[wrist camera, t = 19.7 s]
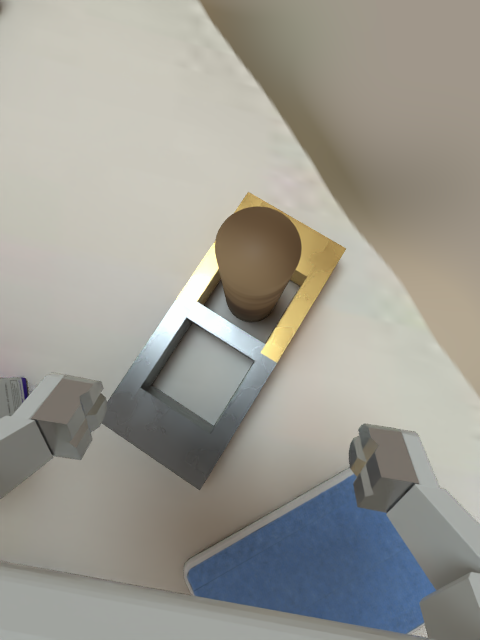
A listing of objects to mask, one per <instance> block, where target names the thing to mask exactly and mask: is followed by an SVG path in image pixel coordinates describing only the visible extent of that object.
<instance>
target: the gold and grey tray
mask: <svg viewBox="0 0 480 640" xmlns="http://www.w3.org/2000/svg"><path fill="white" fill-rule="evenodd" d="M256 206H260V207H268V208H271V209H274V210H277V211H279V212H281V213H282V214H284V215H285V216H286V217H288V218H289V219H290V220H291V222H292V223H293V224H294V225H295V227H296V229H297V231H298V233H299V235H300V239H301V245H302V251H301V258H300V261H299V264H298V266H297V268H296V270H295V271H294V273H293V275H292V277H291V278H290V280H291V281H293V282H294V283H296V284H298V285H299V286H300V288H299V289H298V291H297V292H296V294H295V296H294V297H293V299H292V301H291V302H290V304H289V305H288V307H287V309H286V310H285V312H284V314H283V315H282V317H281V318H280V320H279V322H278V323H277V325H276V327H275V328H274V330H273V331H272V333H271V335H270V336H269V338H268V339H267V341H266V343H265V344H264V343H262V342H261V341H259V340H258V339H256V338H254V337H253V336H251V335H250V334H248V333H246V332H245V331H243V330H241V329H240V328H238V327H237V326H235V325H233V324H232V323H230V322H229V321H227V320H225V319H224V318H222V317H221V316H219V315H217V314H216V313H214V312H213V311H211V310H209V309H208V308H206V307H205V306H203V305H204V304H205V302H206V301H207V299H208V298H209V296H210V295H211V293H212V292H213V290H214V289H215V287H216V286H217V284H218V283H219V281H220V280H221V276H220V272H219V268H218V264H217V260H216V255H215V242H214V244H213V245H212V247H211V248H210V250H209V251H208V253H207V254H206V256H205V257H204V259H203V260H202V262H201V263H200V265H199V266H198V268H197V269H196V271H195V272H194V274H193V275H192V277H191V278H190V280H189V281H188V283H187V284H186V286H185V287H184V289H183V290H182V292H181V293H180V294H179V296H178V297H177V299H176V300H175V302H174V303H173V305H172V306H171V308H170V309H169V311H168V312H167V314H166V315H165V317H164V318H163V320H162V321H161V323H160V324H159V326H158V327H157V329H156V330H155V332H154V333H153V335H152V336H151V338H150V339H149V341H148V342H147V344H146V345H145V347H144V348H143V350H142V351H141V353H140V354H139V356H138V357H137V359H136V360H135V362H134V363H133V365H132V366H131V368H130V369H129V371H128V372H127V374H126V375H125V376H124V378H123V379H122V381H121V382H120V384H119V385H118V387H117V388H116V390H115V391H114V393H113V394H112V396H111V397H110V399H109V400H108V402H107V410H106V413H105V417H104V419H103V421H102V424H104V425H105V426H107V427H108V428H109V429H111V430H112V431H114V432H115V433H117V434H118V435H120V436H121V437H123V438H124V439H126V440H127V441H128V442H130V443H131V444H133V445H134V446H136V447H137V448H139V449H140V450H142V451H143V452H145V453H146V454H147V455H149V456H150V457H152V458H153V459H155V460H156V461H158V462H159V463H161V464H162V465H164V466H165V467H166V468H168V469H169V470H171V471H172V472H174V473H175V474H177V475H178V476H180V477H181V478H183V479H184V480H185V481H187V482H188V483H190V484H191V485H193V486H194V487H196V488H197V489H199V490H200V489H201V488H202V486H203V484H204V483H205V481H206V479H207V478H208V476H209V474H210V473H211V471H212V469H213V468H214V466H215V464H216V463H217V461H218V459H219V458H220V456H221V455H222V453H223V451H224V450H225V448H226V446H227V445H228V443H229V441H230V440H231V438H232V436H233V435H234V433H235V431H236V430H237V428H238V426H239V425H240V423H241V422H242V420H243V418H244V417H245V415H246V413H247V412H248V410H249V408H250V407H251V405H252V403H253V402H254V400H255V398H256V397H257V395H258V393H259V392H260V390H261V389H262V387H263V385H264V384H265V382H266V380H267V379H268V377H269V375H270V374H271V372H272V370H273V369H274V367H275V365H276V364H277V362H278V360H279V359H280V357H281V356H282V354H283V352H284V351H285V349H286V347H287V346H288V344H289V342H290V341H291V339H292V337H293V336H294V334H295V332H296V331H297V329H298V327H299V326H300V324H301V323H302V321H303V319H304V318H305V316H306V314H307V313H308V311H309V309H310V308H311V306H312V304H313V303H314V301H315V299H316V298H317V296H318V294H319V293H320V291H321V289H322V288H323V286H324V285H325V283H326V281H327V280H328V278H329V276H330V275H331V273H332V271H333V270H334V268H335V266H336V265H337V263H338V261H339V260H340V258H341V256H342V255H343V253H344V252H345V250H346V248H344V247H342V246H341V245H339V244H337V243H336V242H334V241H332V240H330V239H329V238H327V237H325V236H323V235H322V234H320V233H318V232H317V231H315V230H313V229H311V228H310V227H308V226H306V225H304V224H303V223H301V222H299V221H298V220H296V219H294V218H292V217H291V216H289V215H287V214H285V213H284V212H282V211H280V210H279V209H277V208H275V207H273V206H272V205H270V204H268V203H266V202H265V201H263V200H261V199H260V198H258V197H256V196H254V195H253V194H251V193H249V192H248V193H247V195H246V196H245V198H244V199H243V201H242V202H241V204H240V205H239V207H238V208H237V209H236V211H235V212H237V211H239V210H242V209H244V208H248V207H256ZM235 212H234V213H235ZM192 322H193V323H194V324H196V325H198V326H199V327H201V328H202V329H204V330H205V331H207V332H209V333H210V334H212V335H213V336H215V337H217V338H218V339H220V340H221V341H223V342H224V343H226V344H228V345H229V346H231V347H232V348H234V349H236V350H237V351H239V352H240V353H242V354H243V355H245V356H247V357H248V358H250V359H251V360H253V361H254V362H253V364H252V365H251V367H250V369H249V370H248V372H247V374H246V375H245V377H244V378H243V380H242V382H241V383H240V385H239V387H238V388H237V390H236V391H235V393H234V395H233V396H232V398H231V399H230V401H229V403H228V404H227V406H226V408H225V409H224V411H223V412H222V414H221V416H220V417H219V419H218V421H217V422H216V424H215V425H214V426H213V425H211V424H210V423H208V422H207V421H205V420H204V419H202V418H201V417H199V416H198V415H196V414H195V413H193V412H192V411H190V410H189V409H187V408H186V407H184V406H183V405H181V404H180V403H178V402H177V401H175V400H174V399H172V398H171V397H169V396H167V395H166V394H164V393H163V392H161V391H160V390H158V389H157V388H155V387H154V386H152V383H153V382H154V380H155V379H156V377H157V376H158V374H159V372H160V371H161V369H162V368H163V366H164V365H165V363H166V362H167V360H168V359H169V357H170V356H171V354H172V353H173V351H174V350H175V348H176V347H177V345H178V344H179V342H180V340H181V339H182V337H183V336H184V334H185V333H186V331H187V330H188V328H189V327H190V325H191V324H192Z"/></svg>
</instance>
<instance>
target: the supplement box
mask: <svg viewBox="0 0 480 640" xmlns="http://www.w3.org/2000/svg"><path fill="white" fill-rule="evenodd" d="M27 397H28V391H27V384H26V379H25V378H23V377H21V378H0V419H1V418H3V417H4V416H6V415H7V416H12V415H13V414H14V413H15V411H16V410H17V409H18V408H19V407H20V405H21V404H22V403H23V402H24V401H25V400H26V398H27Z"/></svg>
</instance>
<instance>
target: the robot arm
mask: <svg viewBox="0 0 480 640" xmlns="http://www.w3.org/2000/svg"><path fill="white" fill-rule="evenodd" d="M102 390H103V385H102V382H101V381H97V380H91V379H86V378H81V377H75V376H70V375H64V374H58V373H53V372H52V373H50V374H48V375H46V376H45V377H44V379H43V380H42V381H41V382H40V383H39V384H38V386H37V387H36V388H35V389H34V390H33V391H32V393H31V394H30V395H29V396H28V397H27V398H26V400H25V401H24V402H23V403H22V404H21V405H20V407H19V408H18V409H17V410H16V411H15V413H14V414H13V415H12V416H7V415H6V416H4V417H3V418H1V419H0V499H1V498H3V497H4V496H5V495H6V494H8V493H9V492H10V491H11V490H13V489H14V488H15V487H17V486H18V485H19V484H20V483H22V482H23V481H24V480H25V479H27V478H28V477H29V476H31V475H32V474H33V473H34V472H36V471H37V470H38V469H40V468H41V467H42V466H43V465H45V464H46V463H47V462H48V461H50V460H51V459H52V458H53V456H56V457H63V458H70V459H77V460H81V459H82V457H83V456H84V454H85V452H86V450H87V448H88V447H89V445H90V443H91V441H92V435H91V432H93V431H94V430H96V429H97V428H99V427H100V425H101V423H102V421H103V419H104V417H105V413H106V410H107V401H106V397H104V396H103V395H102V394H101V392H102ZM358 431H359V436H358V437H355V438H353V440H352V442H351V444H350V449H349V464H350V469H351V470H352V472H353V473H354V474H355V475H356V477H357V478H356V479H355V481H354V483H353V486H354V492H355V497H356V502H357V507H359V508H364V509H370V510H375V511H380V512H385V513H387V514H386V515H387V517H388V518H389V520H390V521H391V523H392V524H393V526H394V527H395V529H396V530H397V532H398V533H399V535H400V536H401V538H402V539H403V541H404V542H405V544H406V545H407V547H408V548H409V550H410V551H411V553H412V554H413V556H414V557H415V559H416V561H417V562H418V564H419V565H420V567H421V568H422V570H423V571H424V573H425V574H426V576H427V577H428V579H429V580H430V582H431V583H432V585H433V586H434V588H435V589H436V591H435V592H433V593H431V594H429V595H427V596H425V597H423V598H422V600H421V601H420V603H419V604H420V608H421V612H422V616H423V619H424V623H425V627H426V631H427V635H428V638H425V637H420V636H414V635H409V634H403V633H398V632H392V631H387V630H381V629H376V628H370V627H364V626H359V625H353V624H348V623H342V622H337V621H331V620H326V619H320V618H315V617H309V616H304V615H298V614H292V613H287V612H281V611H276V610H270V609H265V608H259V607H254V606H248V605H243V604H237V603H231V602H226V601H220V600H215V599H209V598H204V597H198V596H193V595H187V594H182V593H176V592H171V591H165V590H159V589H154V588H148V587H143V586H137V585H132V584H126V583H121V582H115V581H110V580H104V579H98V578H93V577H87V576H82V575H76V574H71V573H65V572H60V571H54V570H49V569H43V568H38V567H32V566H26V565H21V564H15V563H10V562H4V561H0V640H480V524H479V523H478V522H477V521H476V520H475V519H474V518H473V517H472V516H471V515H470V514H469V513H468V512H467V511H466V510H465V509H464V508H463V507H462V506H461V505H460V503H459V502H458V501H457V500H456V499H455V498H454V497H453V496H452V495H451V494H450V493H449V492H448V491H447V490H446V489H443V488H440V486H439V484H438V481H437V479H436V477H435V474H434V472H433V469H432V467H431V464H430V462H429V459H428V457H427V454H426V452H425V450H424V447H423V445H422V442H421V440H420V437H419V435H418V434H417V433H416V432H414V431H408V430H401V429H396V428H391V427H384V426H378V425H371V424H363V425H361V427H360V428H359V430H358Z"/></svg>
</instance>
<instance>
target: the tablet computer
mask: <svg viewBox="0 0 480 640" xmlns="http://www.w3.org/2000/svg"><path fill="white" fill-rule="evenodd" d="M356 478H357V477H356V475H355V474H354V473H353V472H352V470H351V469H350V467H349V468H348V469H346V470H344V471H343V472H341V473H339V474H337V475H336V476H334V477H332V478H331V479H329V480H327V481H325V482H324V483H322V484H320V485H319V486H317V487H315V488H313V489H312V490H310V491H308V492H306V493H305V494H303V495H301V496H299V497H298V498H296V499H294V500H293V501H291V502H289V503H287V504H286V505H284V506H282V507H280V508H278V509H277V510H275V511H273V512H271V513H270V514H268V515H266V516H264V517H263V518H261V519H259V520H257V521H256V522H254V523H252V524H251V525H249V526H247V527H245V528H244V529H242V530H240V531H238V532H237V533H235V534H233V535H231V536H229V537H228V538H226V539H224V540H222V541H221V542H219V543H217V544H215V545H214V546H212V547H210V548H208V549H207V550H205V551H203V552H201V553H199V554H197V555H196V556H194V557H192V558H190V559H189V560H188V561H187V562H186V563H185V565H184V579H185V582H186V584H187V586H188V588H189V590H190V593H191V595H193V596H198V597H204V598H209V599H215V600H220V601H226V602H231V603H237V604H243V605H248V606H254V607H259V608H265V609H270V610H276V611H281V612H287V613H292V614H298V615H304V616H309V617H315V618H320V619H326V620H331V621H337V622H342V623H348V624H353V625H359V626H364V627H370V628H376V629H381V630H387V631H392V632H398V633H403V634H409V635H410V634H412V633H413V632H415V631H416V630H418V629H419V628H421V627H423V626H424V625H425V623H424V619H423V616H422V612H421V608H420V604H419V603H420V601H421V600H422V598H423V597H425V596H427V595H429V594H431V593H433V592H435V591H436V589H435V588H434V586H433V585H432V583H431V582H430V580H429V579H428V577H427V576H426V574H425V573H424V571H423V570H422V568H421V567H420V565H419V564H418V562H417V561H416V559H415V557H414V556H413V554H412V553H411V551H410V550H409V548H408V547H407V545H406V544H405V542H404V541H403V539H402V538H401V536H400V535H399V533H398V532H397V530H396V529H395V527H394V526H393V524H392V523H391V521H390V520H389V518H388V517H387V515H386V514H387V513H385V512H380V511H375V510H370V509H364V508H359V507H357V502H356V497H355V492H354V486H353V483H354V481H355V479H356Z"/></svg>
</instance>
